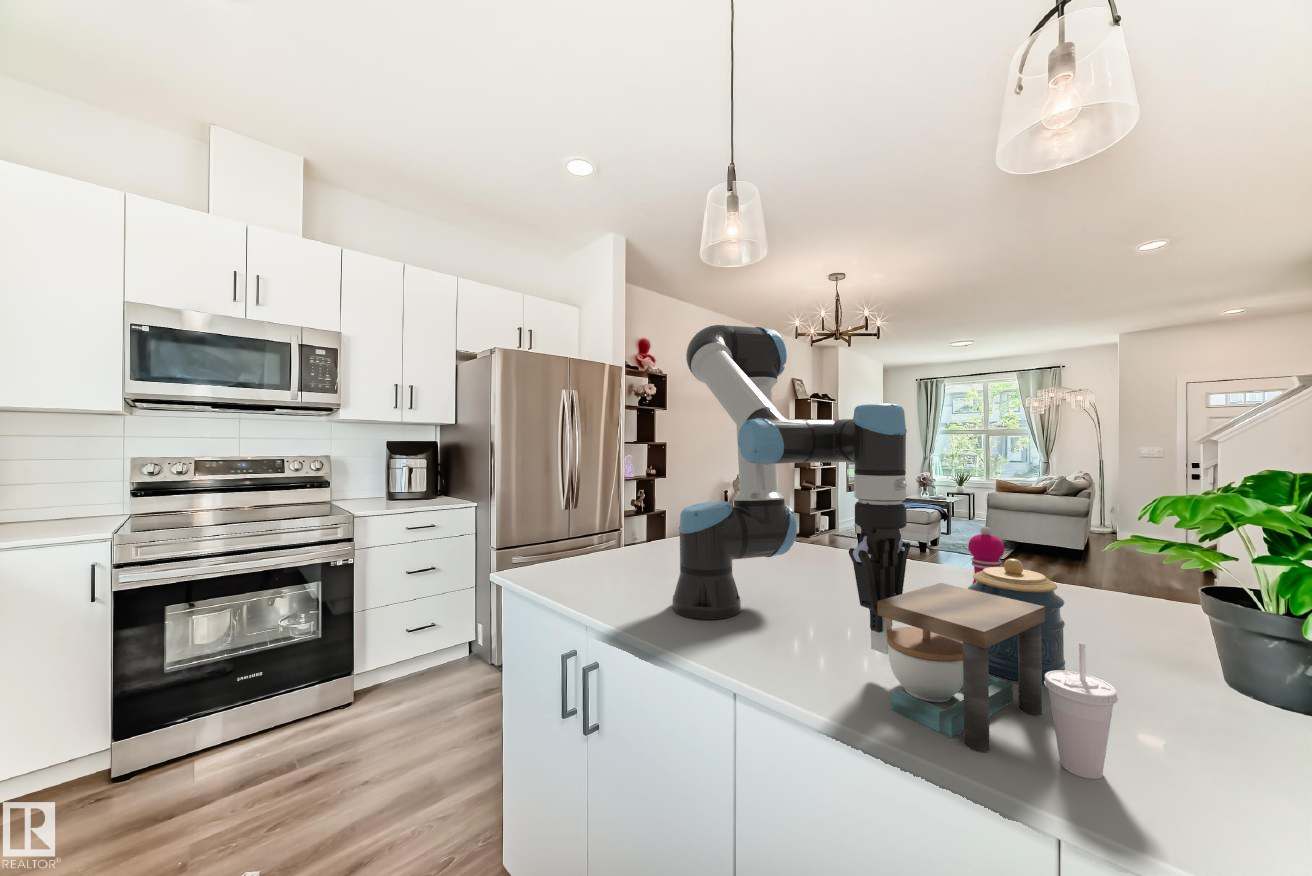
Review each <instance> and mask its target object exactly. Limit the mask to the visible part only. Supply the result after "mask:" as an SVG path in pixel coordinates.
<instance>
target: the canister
mask: <svg viewBox="0 0 1312 876" xmlns="http://www.w3.org/2000/svg"><path fill="white" fill-rule="evenodd" d="M972 577H973V580H974V579H975V580H976V583H975V584H973V583H972V584H973V585H972V584H971V585H970V586H969V585H968V587H967V589H970V590H974V591H979V592H983V593H988V594H992V595H997V596H1001V597H1005V598H1010V599H1014V600H1019V601H1023V602H1027V603H1032V604H1036V605H1041V606H1045V622H1042V623H1041V656H1042V684H1044V681H1045V674H1046V673H1047V672H1049V671H1055V670H1063V671H1066V660H1065V652H1064V651H1065V649H1064V646H1065V645H1064V628H1065V627H1066V622H1065V620H1063V619H1062V616H1061V609H1062V607H1064V605H1065V600H1064V599H1063V598H1062V597H1060V596H1059V595H1058V594H1056V592H1055V591H1056V590H1057V589H1058V584H1057V583H1056V582H1054V581H1052V580H1051V579H1049V578H1047V576H1046V575H1044V574H1042V573H1040V572H1038V571H1037V572H1036V571H1033V570H1028V569H1024V565H1023V563H1022V562H1021V561H1020V560H1019V559H1016V558H1008V559H1006V560H1005V561H1004V563H1003V566H1001V567H989V568H985V569H983V570H982V571H980V572H977V573H975V574H974V573H973V575H972ZM988 673H990V674H993V675H996V676H999V677H1001V678H1005V679H1009V680H1013V681H1017V682H1018V634H1016V635H1014V636H1012V637H1009V638H1007V639H1005V640H1003V641H1000V642H998V643H996V644H994V645H992V646H989V647H988Z"/></svg>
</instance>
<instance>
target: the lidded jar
mask: <svg viewBox="0 0 1312 876" xmlns="http://www.w3.org/2000/svg"><path fill="white" fill-rule="evenodd" d="M887 642H888V654H887V655H888V661H889V665H890V668H891V671H892V674H893V675H894V677H895V678H896V680H897V681H898V683H899V684H900V685H901V686H902V687H903V688H904V691H905V693H907V694H909V695H911V696H913V697H916V698H918V699H920V700H923V701H925V702H928V703H944V702H948V701H950V700H951V699H952V697H954V696H955V695H956V694H958V693H959V692H960V691H961V689H962V688H964V686H963V642H962V641H958V640H955V639H952V638H949V637H946V636H942V635H939V634H936V633H933V632H930V631H926V630H923V629H920V628H917V627H914V626H901V627H896V628H892V630H890V631H889V632H888V633H887Z"/></svg>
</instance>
